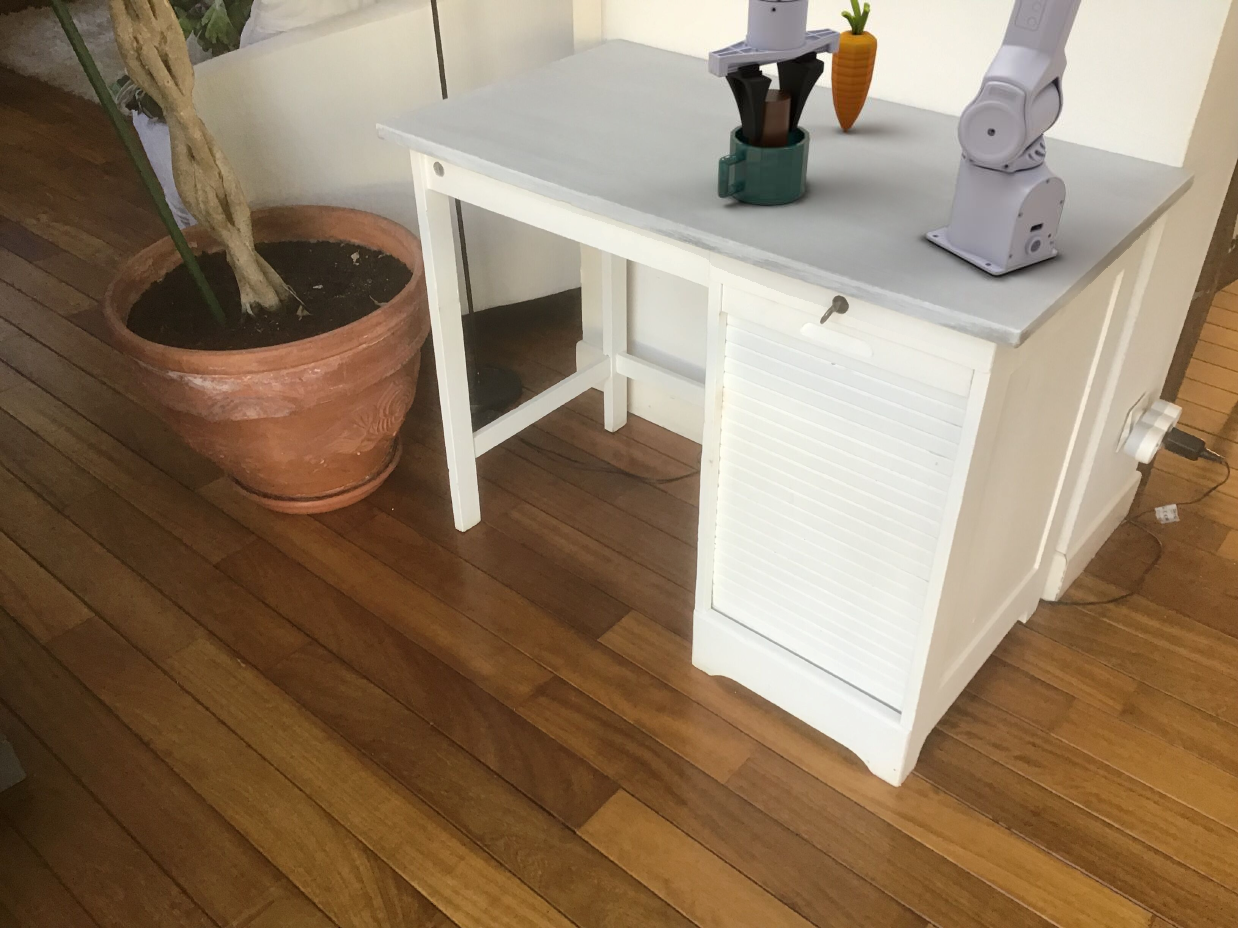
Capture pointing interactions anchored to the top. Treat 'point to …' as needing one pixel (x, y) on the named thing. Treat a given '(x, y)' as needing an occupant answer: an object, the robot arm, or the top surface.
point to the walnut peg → (775, 120)
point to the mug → (764, 170)
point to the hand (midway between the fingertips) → (769, 134)
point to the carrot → (853, 67)
